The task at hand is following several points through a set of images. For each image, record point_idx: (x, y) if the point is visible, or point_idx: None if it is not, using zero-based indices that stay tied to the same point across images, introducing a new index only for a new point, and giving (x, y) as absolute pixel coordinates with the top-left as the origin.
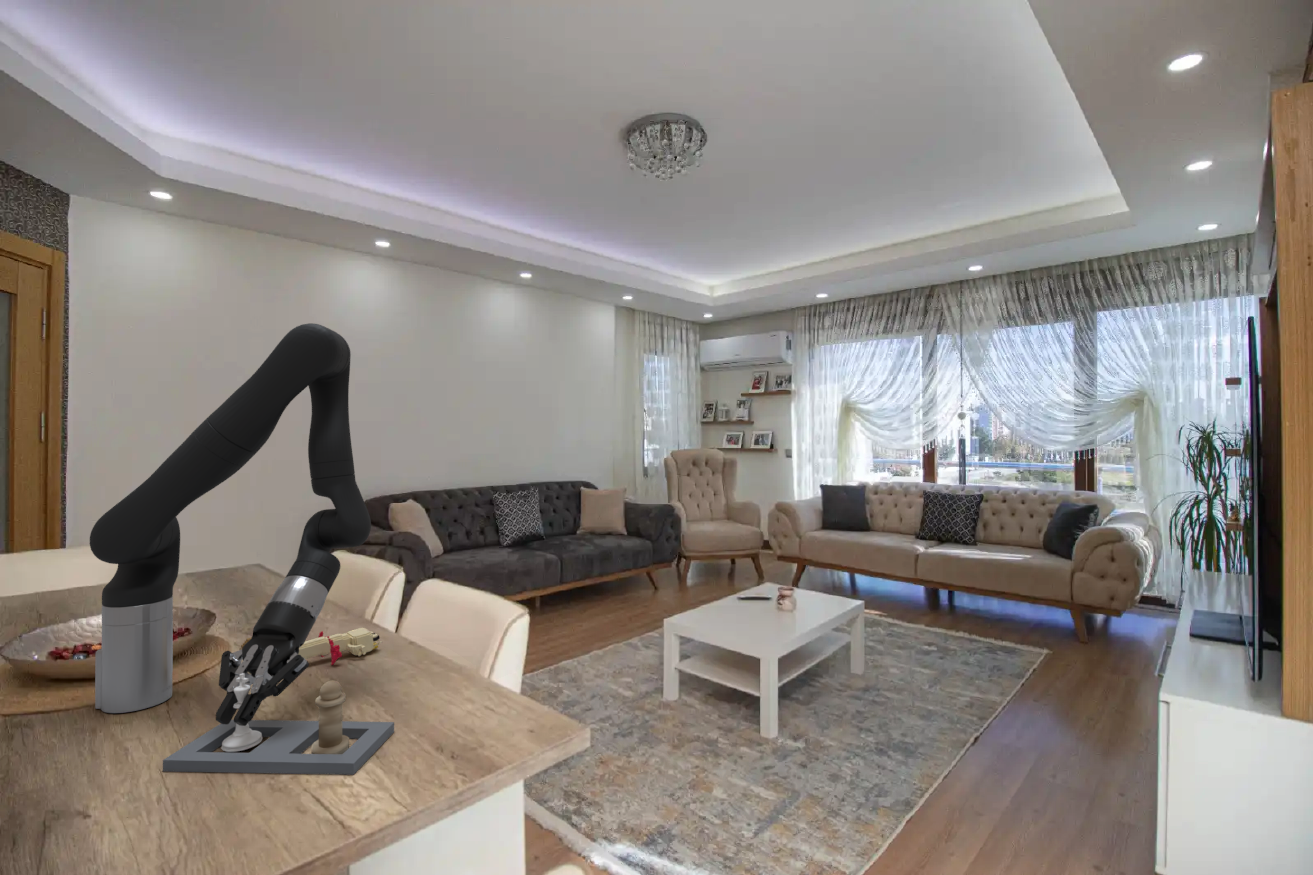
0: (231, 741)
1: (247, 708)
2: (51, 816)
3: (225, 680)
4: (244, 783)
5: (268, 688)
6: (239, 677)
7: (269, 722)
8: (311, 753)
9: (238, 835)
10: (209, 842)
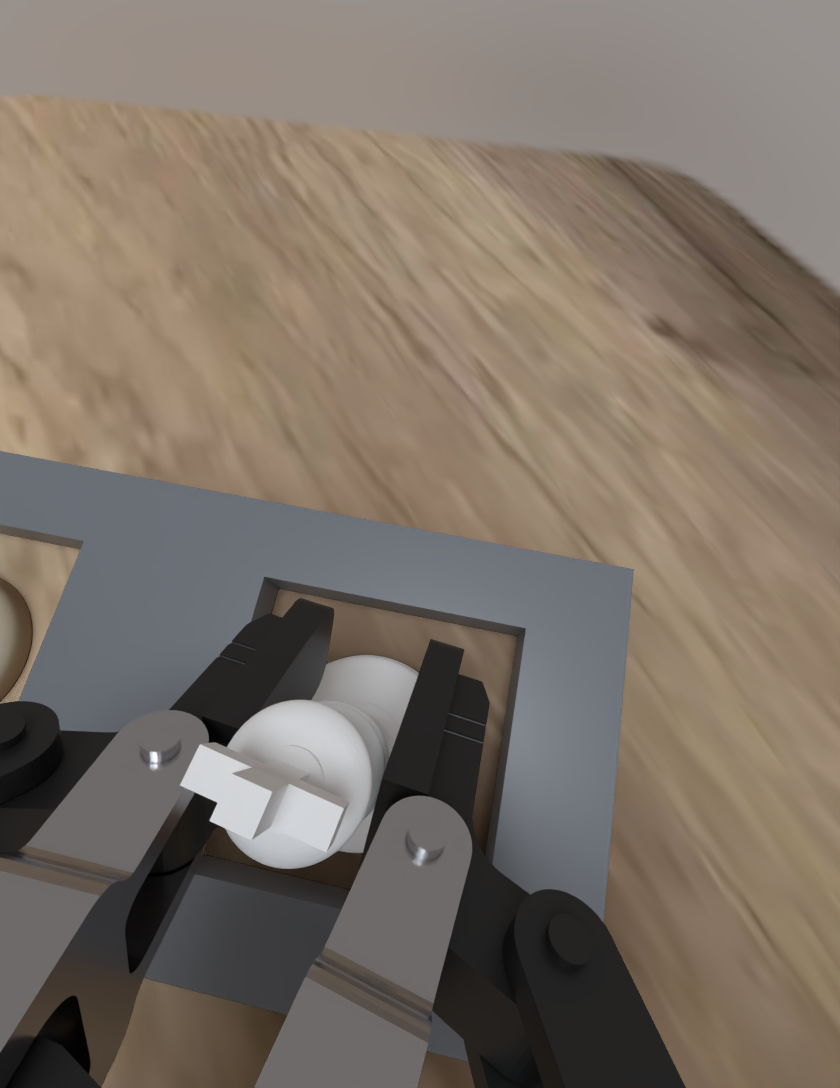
0: (388, 687)
1: (246, 652)
2: (781, 342)
3: (547, 967)
4: (242, 442)
5: (13, 711)
6: (310, 842)
7: (283, 974)
8: (21, 612)
9: (162, 192)
10: (227, 177)
